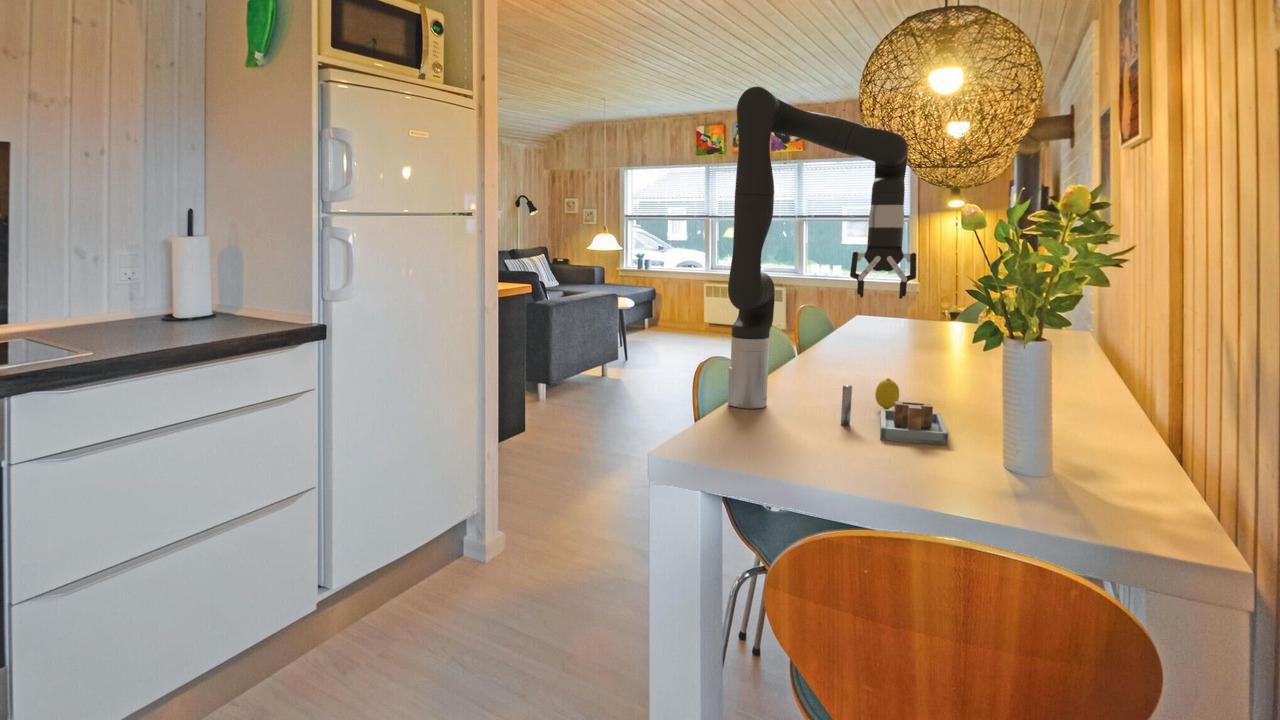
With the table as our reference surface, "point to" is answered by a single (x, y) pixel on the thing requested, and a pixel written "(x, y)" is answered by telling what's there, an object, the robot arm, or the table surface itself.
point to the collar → (913, 415)
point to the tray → (902, 433)
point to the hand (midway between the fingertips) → (881, 297)
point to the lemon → (887, 393)
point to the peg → (846, 405)
